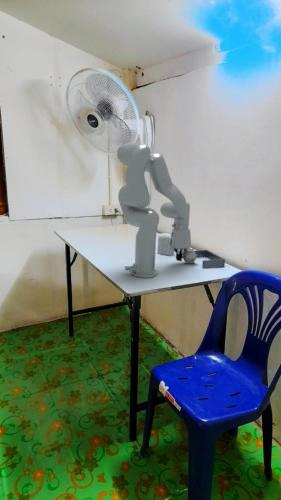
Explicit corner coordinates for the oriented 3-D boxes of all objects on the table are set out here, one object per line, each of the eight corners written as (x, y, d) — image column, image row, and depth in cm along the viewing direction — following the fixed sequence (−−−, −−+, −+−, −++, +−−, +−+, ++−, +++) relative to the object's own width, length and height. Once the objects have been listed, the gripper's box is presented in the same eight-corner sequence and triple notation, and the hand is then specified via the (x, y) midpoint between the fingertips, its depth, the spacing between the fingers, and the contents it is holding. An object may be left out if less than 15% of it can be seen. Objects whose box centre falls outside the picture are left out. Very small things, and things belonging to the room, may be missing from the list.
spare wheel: (184, 255, 188) (184, 251, 187) (179, 252, 194) (179, 248, 194) (195, 255, 190) (195, 250, 189) (190, 251, 196) (190, 247, 196)
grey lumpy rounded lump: (184, 270, 175) (174, 254, 174) (193, 261, 179) (184, 246, 179) (195, 266, 167) (184, 250, 167) (204, 257, 172) (194, 242, 171)
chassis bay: (203, 268, 167) (203, 261, 166) (186, 257, 184) (187, 251, 183) (225, 266, 171) (226, 259, 170) (207, 256, 188) (208, 249, 187)
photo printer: (175, 254, 189) (176, 234, 186) (172, 256, 186) (173, 235, 182) (159, 251, 194) (160, 231, 191) (156, 253, 191) (157, 233, 187)
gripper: (170, 228, 161) (168, 263, 166) (197, 227, 166) (194, 261, 171) (164, 225, 168) (163, 259, 173) (190, 224, 173) (188, 257, 178)
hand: (178, 260), depth 172 cm, fingers closed
